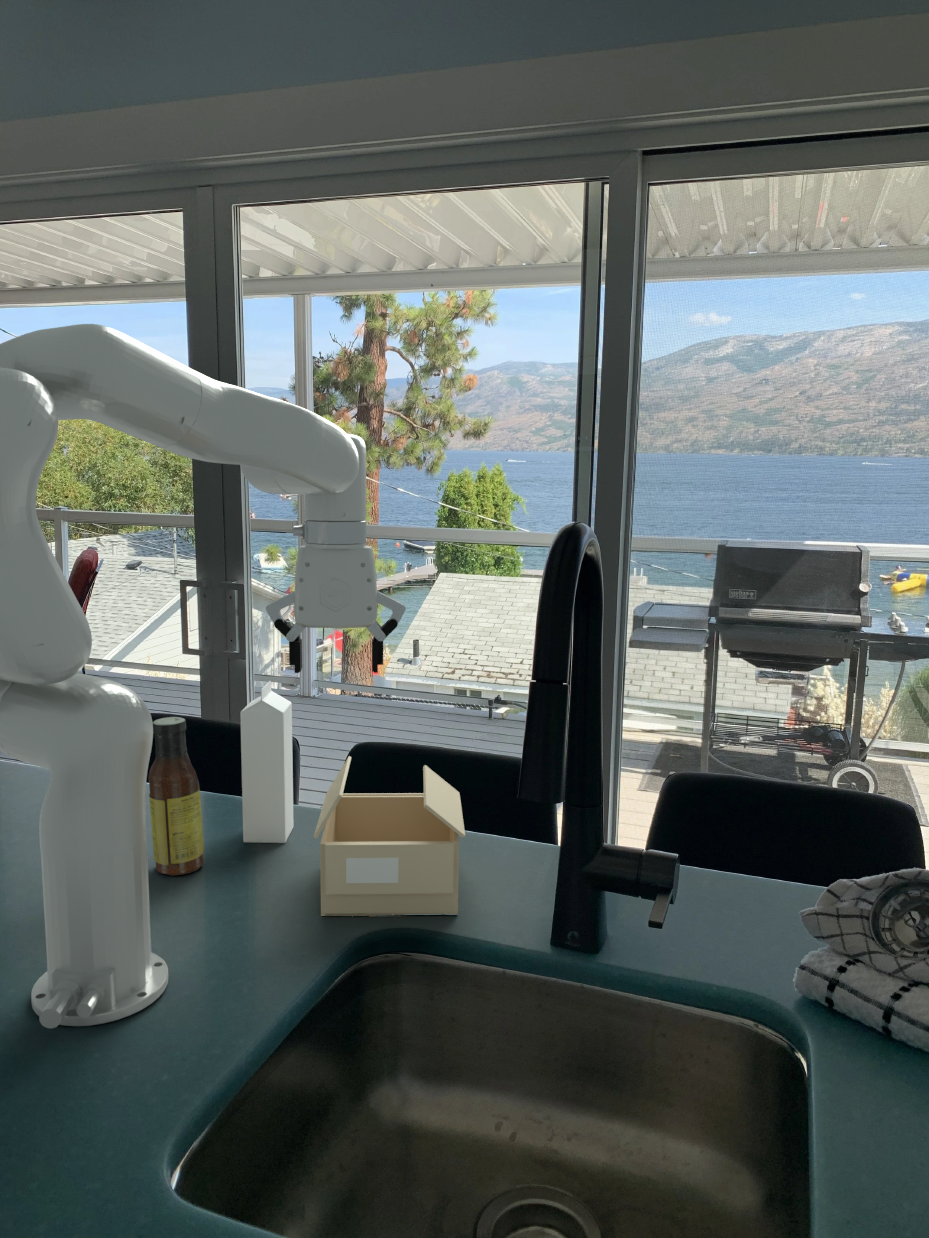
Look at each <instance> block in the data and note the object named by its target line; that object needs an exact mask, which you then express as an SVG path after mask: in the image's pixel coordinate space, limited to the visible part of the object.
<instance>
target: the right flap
mask: <svg viewBox="0 0 929 1238" xmlns="http://www.w3.org/2000/svg"><path fill="white" fill-rule="evenodd" d="M422 771H423V772H422V774H423V775H422V776H423V777H422V778H423V781H422V782H423V793H424V807H425V808H426V809H427V810H429V811H430V812H431V813H432V814H433V815H435V816H436V817H437V818H438V819H440V820H441V821H442V822H443V823H445V824H446V825H447V826H448V827H450V828H451V829H452V830H453V831H455V832H456V833H457V834H458V836H459V837H461V838H462V839H464V838H465V837H466V831H465V824H464V823H465V822H464V818H463V817H464V816H463V807H462V802H461V801H462V800H461V795H460V791H458V790H457V789H456V788H455V787H453V786H452V785H451V784H450V783H448V782H447V781H445V779H444V778H442V777H441V776H440V775H439V774H437V773H436V772H435V771H433V770H432V769H431V768H430V767H429V766H428V765H426V764H424V765H423V767H422Z"/></svg>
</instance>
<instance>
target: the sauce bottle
mask: <svg viewBox="0 0 929 1238" xmlns="http://www.w3.org/2000/svg"><path fill="white" fill-rule="evenodd" d="M186 721H187V720H186V719H185V718H183V717H179V716H169V717H168V716H167V717H162V718H158V719H155V720H154V721H152V722H153V735H154V739H155V740H154V741H155V751H154V752H155V758H154V761H153V763H152V764H151V767H150V769H149V773H148V783H149V784H148V786H149V794H148V797H149V808H150V811H149V813H150V823H151V835H152V836H151V837H152V838H151V839H152V848H153V849H152V850H153V860H154V861H155V867H156V870H157V872H158V873H159V874H162V875H163V874H164V875H167V876H171V877H172V876H183V875H187V874H191V873H193V872H195V871H197V870H199V869H200V868H201V867H202V866H203V864H204V851H205V847H204V833H203V821H202V819H203V818H202V804H201V793H200V791H201V790H200V781H199V778H198V775H197V773H196V770H195V768H194V766H193V765H192V763H191V759H190V757H189V754H188V747H187V738H186V731H187V723H186Z"/></svg>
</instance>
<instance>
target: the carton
mask: <svg viewBox="0 0 929 1238" xmlns="http://www.w3.org/2000/svg"><path fill="white" fill-rule="evenodd" d="M319 846H320V848H319V851H320V852H319V853H320V855H319V856H320V859H319V860H320V861H319V862H320V863H319V864H320V867H319V868H320V917H321V916H352V917H351V918H353V916H369V917H376V916H375V915H392V914H394V915H404V914H444V913H447V914H458V915H459V871H460V870H459V869H460V868H459V867H460V866H459V864H460V862H459V861H460V860H459V859H460V858H459V857H460V855H459V854H460V840H459V835H458V834H457V833H456V832H455V831H453V830H452V829H451V828H450V827H448V826H447V825H446V824H445V823H443V822H442V821H441V820H440V819H438V818H437V817H436V816H435V815H433V814H432V813H431V812H430V811H429V810H427V809H426V808H425V807H424V792H422V793H421V792H418V793H417V792H413V793H412V792H408V793H407V792H405V793H404V792H403V793H400V792H398V793H397V792H396V793H392V792H391V793H390V792H389V793H388V792H387V793H384V792H382V793H380V792H379V793H376V792H375V793H374V792H373V793H372V792H371V793H369V792H368V793H366V792H365V793H360V792H359V793H355V792H353V793H347V792H346V793H344V792H343V795H342V797H341V799H340V801H339V802H338V804H337V806H336V807H335V809H334V811H333V812H332V814H331V816H330V817H329V819H328V821H327V822H326V824H325V826H324V827H323V832H322V836H321V840H320V843H319Z"/></svg>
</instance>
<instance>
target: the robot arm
mask: <svg viewBox="0 0 929 1238" xmlns="http://www.w3.org/2000/svg"><path fill="white" fill-rule="evenodd" d="M69 420H89V421H92V422H96V423H99V424H101V425H104V426H107V427H109V428H112V429H114V430H117V431H119V432H121V433H124V434H126V435H130V436H132V437H134V438H136V439H140V441H144V442H146V443H149V444H151V445H154V446H156V447H158V448H161V449H163V450H165V451H168V452H170V453H172V454H175V455H177V456H179V457H183V458H187V459H193V460H197V461H201V462H207V463H214V464H226V465H239V466H240V470H241V472H242V475H243V476H244V479H246V482H248V483H249V484H250V485H251V486H252V487H254V488H255V489H257V490H259V491H261V492H264V493H267V494H273V495H292V496H294V495H302V496H303V495H304V522H302V524H299V525H293V527H292V535H293V537H299V538H302V540H304V545H300V546H299V547H298V551H297V555H296V556H297V557H296V563H295V573H294V591H292V592H290V593H288V594H286V595H284V596H282V597H280V598H278V599H276V600H275V601H272V602H270V603H268V604H267V605H266V606H265V611H266V613H267V615H268V616H269V618H270V620H271V622H272V624H273V626H274V627H275V629H276V630H278V632H280V634H281V635H283V636H284V637H285V639H286V640H287V642H288V647H289V648H288V652H289V653H288V658H289V662H288V663H289V666H294V674H300V673H301V672H302V670H303V639H302V638H301V633H302V632H304V630H305V629H306V628H309V629H310V628H312V629H313V628H314V629H358V628H359V629H361V628H366V629H367V630H368V631H369V633H371V634H372V636H373V638H372V639H371V672H373V673H376V674H377V673H378V672H379V671H378V667H379V665H380V666H383V665H384V641H385V640H386V638H387V637H388V636H390V634H392V632H393V631H394V630H395V629H396V628H397V627H398V625H399V623H400V621H401V620H402V618H403V616H404V614H405V611H406V605H405V604H404V603H401V602H400V601H398V600H396V599H394V598H392V597H391V596H388V595H387V594H384V593H382V592H380V591H379V590H377V589H378V588H377V587H378V585H377V571H376V570H377V569H376V562H375V557H374V551H373V547H372V546H370V545H367V446H366V443H365V440H364V439H363V438H362V437H360V435H356V434H352V433H347V432H345V430H343V429H342V428H341V427H340V426H338V425H336V424H335V423H333V422H331V421H330V420H328V419H326V418H325V417H323V416H321V415H318V414H317V413H315V412H314V411H311V410H309V409H306V408H304V407H302V406H300V405H297V404H294V403H290V402H288V401H284V400H282V399H279V398H276V397H272V396H268V395H265V394H262V393H259V392H255V391H252V390H250V389H246V388H244V387H240V386H238V385H234V384H231V383H230V384H229V383H227V382H222V381H219V380H216V379H214V378H211V377H210V376H207V375H205V374H203V373H201V372H199V371H197V370H195V369H193V368H191V367H190V366H187V365H185V364H183V363H182V362H180V361H178V360H176V359H173V358H172V357H171V356H168V355H167V354H165V353H162V352H161V351H158V350H157V349H155V348H153V347H151V346H149V345H147V344H145V343H143V342H141V341H139V340H137V339H135V338H133V337H131V336H129V335H128V334H126V333H123V332H121V331H120V330H117V329H115V328H113V327H109V326H106V325H102V324H95V323H80V324H72V325H65V326H60V327H53V328H44V329H37V330H34V331H31V332H27V333H24V334H21V335H18V336H16V337H14V338H12V339H9V340H5V341H4V342H3V341H2V342H1V343H0V752H2V753H4V754H5V755H7V756H9V757H10V758H12V759H15V760H18V761H21V762H23V763H27V764H29V765H33V766H36V767H39V768H42V769H44V770H47V771H48V772H49V781H48V782H49V783H48V787H47V789H46V792H45V796H44V799H43V801H42V805H41V809H40V814H39V824H38V825H39V828H38V832H39V850H40V864H41V866H40V867H41V876H42V877H41V878H42V879H41V882H42V897H43V898H42V899H43V913H44V914H43V915H44V931H45V932H44V933H45V947H46V948H45V949H46V966H47V967H46V968H47V969H46V971H45V972H44V973H43V974H42V975H41V976H40V977H39V978H38V979H37V981H36V982H35V983H34V984H33V986H32V989H31V991H30V992H31V995H30V998H31V1008H32V1010H33V1012H34V1013H35V1014H36V1015H37V1016H38V1018H39V1020H38V1021H39V1023H40V1024H41V1026H42V1027H44V1028H46V1029H55V1028H58V1026H66V1027H90V1026H95V1025H103V1024H107V1023H112V1022H115V1021H119V1020H121V1019H124V1018H126V1017H127V1018H128V1017H129V1016H132V1015H134V1014H136V1013H138V1012H140V1011H142V1010H144V1009H146V1008H147V1007H148V1006H150V1005H151V1004H153V1003H154V1002H155V1001H156V1000H157V999H159V998H160V996H161V995H162V994H163V993H164V991H165V990H166V989H167V986H168V984H169V967H168V964H167V963H166V961H165V960H164V959H163V958H162V957H160V956H159V955H158V954H156V953H154V952H152V942H151V941H152V940H151V939H152V938H151V936H152V935H151V916H150V915H151V914H150V913H151V912H150V887H149V886H150V885H149V883H150V882H149V863H148V860H149V859H148V839H147V838H148V835H147V814H146V813H147V811H146V810H147V809H146V806H147V805H146V802H147V801H146V799H147V797H146V795H147V778H148V770H149V763H150V759H151V758H150V757H151V753H152V747H153V739H154V732H153V722H154V721H153V719H152V714H151V712H150V709H149V708H148V705H147V703H145V701H144V700H143V698H141V696H140V695H139V694H138V693H136V692H135V691H134V690H132V688H129V687H128V686H126V685H124V684H122V683H119V682H117V681H114V680H111V679H108V678H105V677H104V678H103V677H99V676H94V675H89V674H84V673H79V672H80V671H82V669H83V668H84V667H85V666H86V664H87V663H88V661H89V659H90V656H91V652H92V645H93V638H92V636H93V635H92V630H91V627H90V624H89V620H88V618H87V617H86V614H85V613H84V610H83V608H82V607H81V605H80V603H79V601H78V599H77V597H76V595H75V593H74V591H73V590H72V587H71V586H70V584H69V581H68V580H67V577H66V576H65V574H64V572H63V571H62V568H61V567H60V565H59V563H58V561H57V559H56V557H55V555H54V553H53V551H52V550H51V547H50V545H49V543H48V541H47V539H46V538H47V537H46V536H45V534H44V532H43V531H44V530H43V529H42V526H41V524H40V521H39V517H38V515H37V514H38V513H37V504H36V503H37V502H36V500H37V499H36V498H37V490H38V486H39V481H40V479H41V475H42V472H43V470H44V468H45V465H46V464H47V461H48V459H49V457H50V456H51V453H52V451H53V448H54V446H55V444H56V441H57V438H58V433H59V422H60V421H69ZM292 604H293V607H294V609H293V610H294V611H293V613H294V620H295V622H294V624H293V625H291V624H289V623H288V621H286V619H285V618H283V617H284V616H282V613H281V610H283V609H285V608H286V607H289V606H290V605H292ZM378 604H379V605H381V606H384V607H385V608H387V609H389V610H390V611H392V612H391V615H390V617H389V618H388V620H387V621H385V622H384V623H383V625H381V624H380V623H379V622H378V621H377V617H378Z"/></svg>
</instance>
